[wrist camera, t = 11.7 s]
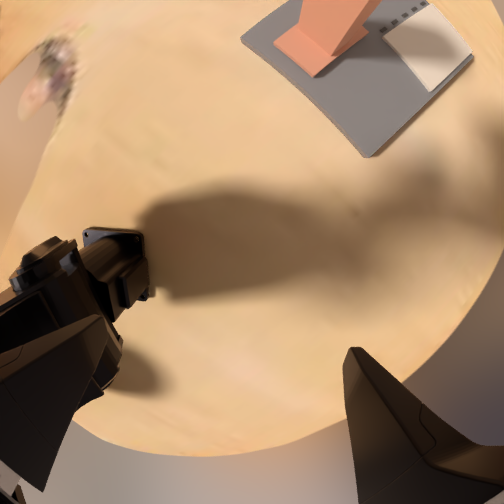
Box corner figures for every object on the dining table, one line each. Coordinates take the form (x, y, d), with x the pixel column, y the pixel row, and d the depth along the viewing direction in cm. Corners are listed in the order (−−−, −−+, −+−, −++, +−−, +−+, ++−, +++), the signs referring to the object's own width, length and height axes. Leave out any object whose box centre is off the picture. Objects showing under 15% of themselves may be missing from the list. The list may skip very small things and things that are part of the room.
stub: (329, 3, 12) (370, -88, 2) (366, 35, 13) (439, -39, 3) (273, 44, 14) (272, -55, 4) (312, 77, 15) (360, 0, 5)
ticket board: (368, -38, 11) (373, -47, 9) (466, 59, 13) (476, 56, 12) (242, 43, 16) (239, 35, 14) (363, 157, 18) (370, 158, 17)
